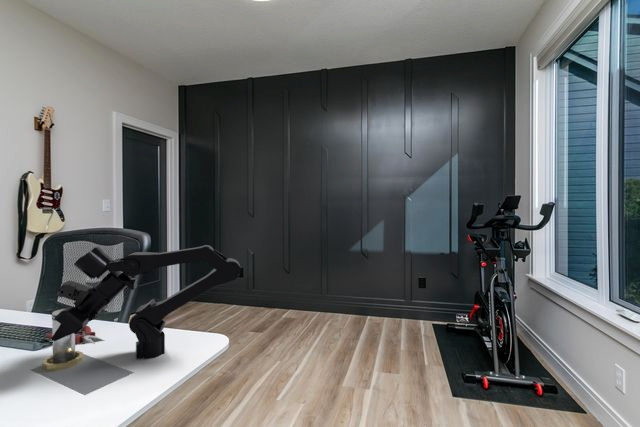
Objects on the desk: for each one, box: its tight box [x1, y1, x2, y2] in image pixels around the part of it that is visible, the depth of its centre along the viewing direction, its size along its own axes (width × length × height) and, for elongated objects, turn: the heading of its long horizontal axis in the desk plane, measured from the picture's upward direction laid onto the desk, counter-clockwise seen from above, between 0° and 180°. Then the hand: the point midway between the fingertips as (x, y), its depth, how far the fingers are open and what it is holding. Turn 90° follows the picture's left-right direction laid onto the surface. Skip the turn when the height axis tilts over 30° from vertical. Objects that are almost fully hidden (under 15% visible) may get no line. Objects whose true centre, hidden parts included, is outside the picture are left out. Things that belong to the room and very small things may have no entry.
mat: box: [30, 353, 135, 396], centre depth 80 cm, size 24×11×1 cm, turn 63°
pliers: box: [44, 325, 106, 346], centre depth 102 cm, size 12×20×3 cm, turn 65°
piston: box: [51, 308, 76, 364], centre depth 84 cm, size 5×5×13 cm
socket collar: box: [42, 350, 84, 371], centre depth 84 cm, size 8×8×2 cm
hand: (57, 336), depth 84 cm, fingers closed on piston, 5 cm apart
